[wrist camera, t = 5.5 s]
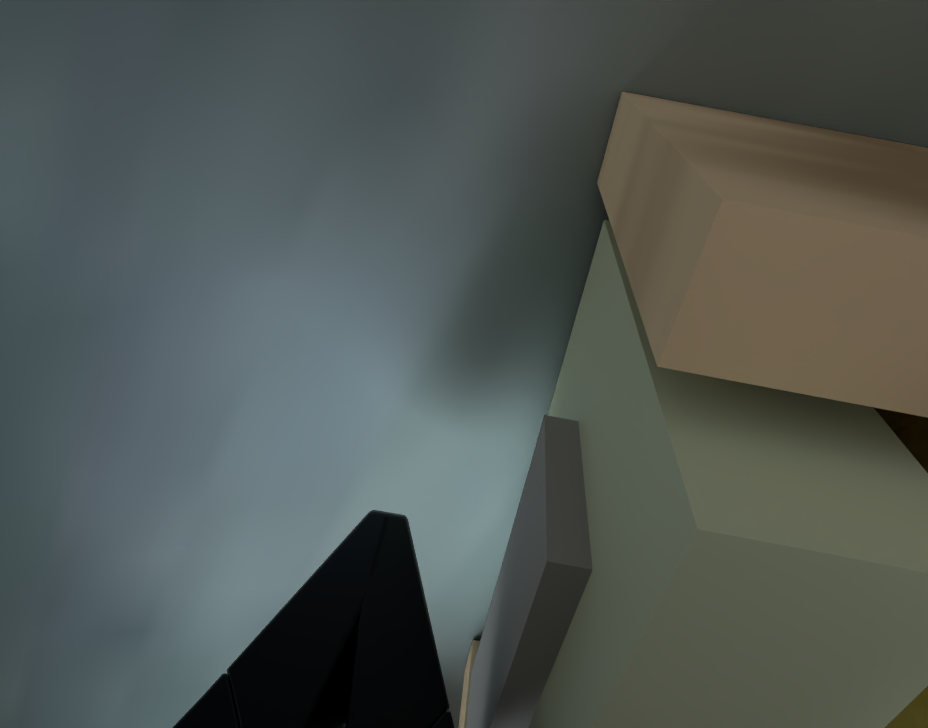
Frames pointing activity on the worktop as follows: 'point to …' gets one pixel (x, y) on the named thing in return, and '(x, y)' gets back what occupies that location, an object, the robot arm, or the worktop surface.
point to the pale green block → (702, 550)
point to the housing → (771, 254)
